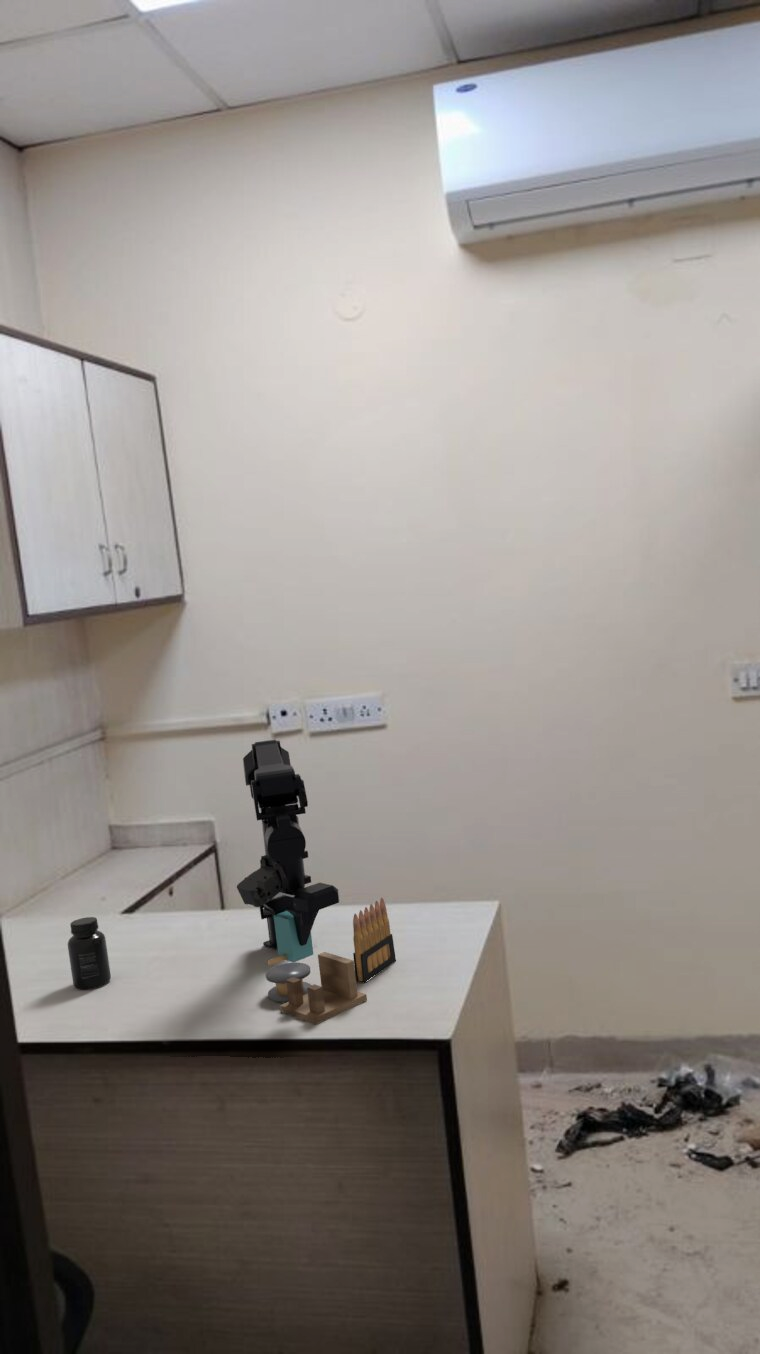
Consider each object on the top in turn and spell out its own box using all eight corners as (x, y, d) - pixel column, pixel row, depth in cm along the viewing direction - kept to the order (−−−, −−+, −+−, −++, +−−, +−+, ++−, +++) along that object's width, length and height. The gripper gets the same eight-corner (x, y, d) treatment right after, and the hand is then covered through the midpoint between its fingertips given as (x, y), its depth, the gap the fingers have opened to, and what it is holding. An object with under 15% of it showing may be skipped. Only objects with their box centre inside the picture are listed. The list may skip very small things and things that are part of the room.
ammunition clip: (364, 983, 177) (356, 915, 176) (355, 982, 178) (347, 914, 177) (396, 960, 186) (388, 896, 185) (387, 959, 187) (380, 895, 186)
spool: (259, 996, 176) (256, 973, 176) (294, 981, 181) (291, 959, 181) (286, 1006, 171) (283, 983, 170) (321, 990, 176) (319, 968, 175)
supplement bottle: (118, 976, 193) (110, 914, 192) (97, 991, 187) (88, 927, 186) (87, 976, 196) (79, 914, 195) (65, 990, 189) (56, 927, 188)
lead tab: (261, 964, 164) (256, 921, 163) (298, 949, 169) (293, 908, 168) (276, 969, 161) (270, 926, 160) (313, 954, 166) (308, 912, 165)
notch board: (280, 1011, 169) (275, 969, 168) (332, 988, 176) (327, 948, 176) (315, 1024, 162) (310, 981, 162) (367, 1000, 170) (362, 958, 169)
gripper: (208, 853, 166) (220, 947, 167) (278, 868, 152) (290, 970, 153) (264, 836, 173) (275, 926, 175) (335, 849, 159) (347, 947, 161)
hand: (295, 942), depth 166 cm, fingers closed on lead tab, 4 cm apart
